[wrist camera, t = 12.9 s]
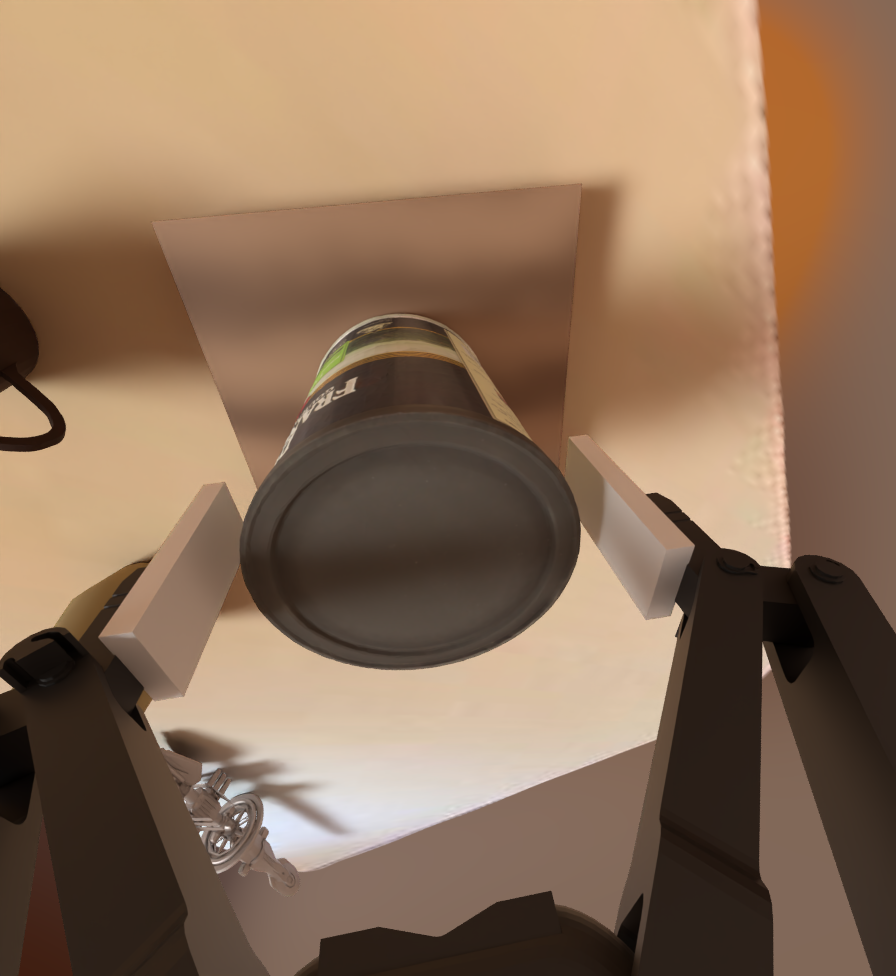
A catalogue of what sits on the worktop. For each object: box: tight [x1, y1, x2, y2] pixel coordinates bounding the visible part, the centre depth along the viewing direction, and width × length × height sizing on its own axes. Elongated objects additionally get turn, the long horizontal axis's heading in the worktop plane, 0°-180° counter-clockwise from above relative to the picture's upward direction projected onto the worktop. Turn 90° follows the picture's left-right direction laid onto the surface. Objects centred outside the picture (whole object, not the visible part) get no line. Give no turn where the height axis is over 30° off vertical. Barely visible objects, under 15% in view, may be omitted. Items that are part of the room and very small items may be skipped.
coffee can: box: [239, 314, 581, 670], centre depth 18 cm, size 10×10×14 cm
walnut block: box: [151, 184, 582, 490], centre depth 25 cm, size 20×20×3 cm
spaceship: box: [160, 748, 300, 897], centre depth 49 cm, size 8×35×8 cm
